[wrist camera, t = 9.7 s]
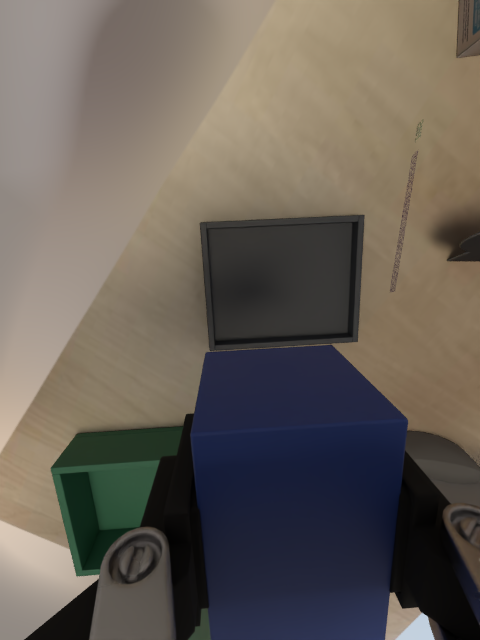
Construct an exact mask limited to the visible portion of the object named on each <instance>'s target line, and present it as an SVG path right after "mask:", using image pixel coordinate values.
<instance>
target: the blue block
mask: <svg viewBox="0 0 480 640" xmlns="http://www.w3.org/2000/svg"><path fill="white" fill-rule="evenodd" d="M407 427H408V420H407V418H406V417H405V416H404V415H403V414H402V413H401V412H400V411H399V410H398V409H397V408H396V407H395V406H394V405H393V404H392V403H391V402H390V401H389V400H388V399H387V398H386V397H385V396H384V395H382V394H381V393H380V392H379V391H378V390H377V389H376V388H375V387H374V386H373V385H372V384H371V383H370V382H369V381H368V380H367V379H366V378H365V377H364V376H363V375H362V374H361V373H360V372H359V371H358V370H357V369H356V368H355V367H354V366H353V365H352V364H351V363H350V362H349V361H348V360H347V359H346V358H345V357H344V356H343V355H342V354H341V353H340V352H339V351H337V350H336V349H335V348H334V347H333V346H332V345H322V346H305V347H288V348H271V349H254V350H237V351H220V352H206V354H205V358H204V364H203V369H202V375H201V380H200V385H199V391H198V396H197V402H196V407H195V412H194V418H193V423H192V429H191V434H190V437H191V447H192V457H193V467H194V477H195V487H196V497H197V507H198V509H199V510H200V520H201V530H202V541H203V551H204V561H205V571H206V582H207V592H208V602H209V608H208V617H209V627H210V637H211V640H385V634H386V624H387V615H388V605H389V596H390V592H389V589H390V580H391V570H392V561H393V551H394V542H395V532H396V523H397V513H398V504H399V495H400V493H401V483H402V474H403V464H404V455H405V446H406V436H407Z"/></svg>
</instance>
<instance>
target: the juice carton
mask: <svg viewBox="0 0 480 640" xmlns="http://www.w3.org/2000/svg"><path fill="white" fill-rule="evenodd" d="M475 55H480V0H459V17H458V39H457V58H459V57H467V56H475Z"/></svg>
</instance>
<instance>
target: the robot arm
mask: <svg viewBox="0 0 480 640" xmlns="http://www.w3.org/2000/svg"><path fill="white" fill-rule="evenodd" d="M193 418H194V414H186V417H185V421H184V426H183V430H182V434H181V439H180V443H179V447H178V452H177V455H172V456H162V457H161V459H160V462H159V465H158V468H157V471H156V475H155V478H154V481H153V485H152V488H151V491H150V495H149V498H148V501H147V505H146V508H145V511H144V515H143V518H142V521H141V525H140V528H136V529H134V530H131V531H129V532H127V533H125V534H124V535H122V536H121V537H119V538H118V539H117V540H116V541H115V542H114V543H113V544H112V545H111V546H110V548H109V549H108V551H107V552H106V554H105V556H104V558H103V561H102V565H101V569H100V575H99V579H98V580H97V581H96V582H94V583H93V584H92V585H91V586H89V587H88V588H87V589H86V590H84V591H83V592H82V593H81V594H80V595H78V596H77V597H76V598H75V599H73V600H72V601H71V602H70V603H69V604H67V605H66V606H65V607H64V608H62V609H61V610H60V611H59V612H58V613H56V614H55V615H54V616H53V617H52V618H50V619H49V620H48V621H46V622H45V623H44V624H43V625H42V626H40V627H39V628H38V629H37V630H35V631H34V632H33V633H32V634H31V635H29V636H28V637H27V638H26V639H24V640H188V639H189V638H190V637H191V635H192V634H193V633H194V632H195V627H197V626H200V623H201V609H206V608H209V602H208V592H207V582H206V571H205V561H204V551H203V541H202V530H201V520H200V510H199V509H198V507H197V497H196V487H195V477H194V467H193V457H192V447H191V437H190V434H191V429H192V423H193ZM389 592H390V593H393V592H395V594H396V596H397V598H398V600H399V603H400V605H401V607H402V609H403V608H415V607H418V608H419V609H420V611H421V612H422V613H424V614H425V615H427V616H428V618H429V623H430V627H431V630H432V633H433V635H434V639H435V640H480V507H478V506H475V505H471V504H466V503H453V504H451V503H450V502H449V501H448V500H447V498H446V497H445V496H444V495H443V494H442V493H441V491H440V490H439V489H438V488H437V487H436V486H435V484H434V483H433V482H432V481H431V480H430V479H429V477H428V476H427V475H426V474H425V473H424V472H423V470H422V469H421V468H420V467H419V466H418V465H417V463H416V462H415V461H414V460H413V459H412V458H411V456H410V455H409V454H408V453H407V452H406V451H405V455H404V464H403V474H402V483H401V493H400V495H399V504H398V513H397V523H396V532H395V542H394V551H393V561H392V570H391V580H390V589H389Z"/></svg>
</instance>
